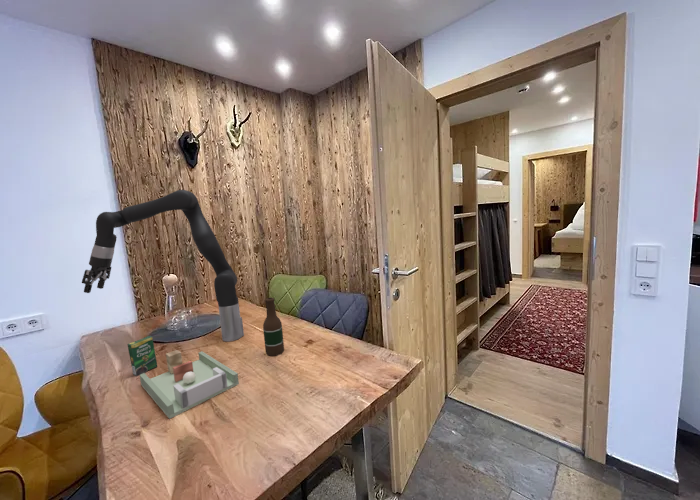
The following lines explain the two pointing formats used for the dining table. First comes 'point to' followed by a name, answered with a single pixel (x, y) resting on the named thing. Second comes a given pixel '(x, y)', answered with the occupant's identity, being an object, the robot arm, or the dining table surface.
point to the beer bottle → (272, 330)
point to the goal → (200, 389)
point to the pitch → (184, 384)
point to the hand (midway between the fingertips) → (93, 290)
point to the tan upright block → (178, 365)
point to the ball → (189, 377)
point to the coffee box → (142, 355)
